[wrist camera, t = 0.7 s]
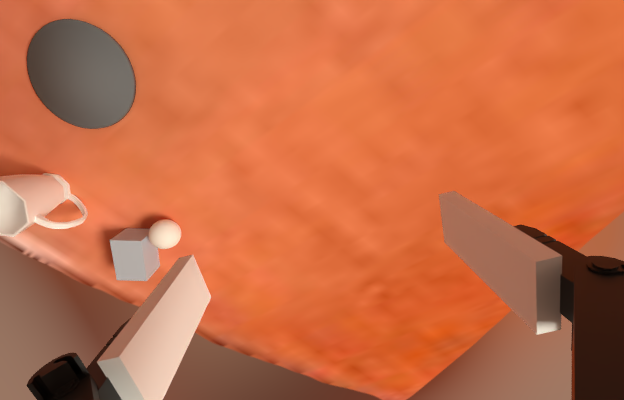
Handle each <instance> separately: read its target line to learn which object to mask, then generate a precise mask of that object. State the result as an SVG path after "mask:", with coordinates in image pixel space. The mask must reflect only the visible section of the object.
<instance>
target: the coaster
mask: <svg viewBox="0 0 624 400" xmlns="http://www.w3.org/2000/svg"><path fill="white" fill-rule="evenodd" d="M27 68H28V74H29V77H30V81H31V83H32V86H33V88H34V90H35V92H36V94H37V95H38V97H39V98H40V100H41V101H42V102H43V103H44V105H45V106H46V107H47V108H48V109H49V110H50V111H51V112H52V113H54V114H55V115H56V116H57V117H59V118H61V119H62V120H64V121H66V122H68V123H70V124H72V125H75V126H78V127H82V128H89V129H96V128H104V127H108V126H111V125H113V124H115V123H117V122H119V121H120V120H122V119H123V118H124V117H125V116H126V114H127V113H128V112H129V110H130V109H131V107H132V104H133V102H134V98H135V93H136V81H135V75H134V71H133V68H132V65H131V63H130V60H129V58H128V57H127V55H126V53H125V52H124V50H123V49H122V47H121V46H120V45H119V44H118V43H117V42H116V41H115V40H114V39H113V38H112V37H111V36H110V35H109V34H107V33H106V32H105V31H103V30H102V29H100V28H98V27H96V26H94V25H91V24H89V23H86V22H83V21H79V20H73V19H62V20H56V21H54V22H51V23H49V24H47V25H45V26H44V27H42V28H41V29H40V30H39V31H38V32H37V33H36V34H35V36H34V37H33V39H32V41H31V43H30V46H29V49H28V55H27Z"/></svg>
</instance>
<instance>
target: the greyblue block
mask: <svg viewBox="0 0 624 400" xmlns="http://www.w3.org/2000/svg"><path fill="white" fill-rule="evenodd" d="M149 230H150V229H142V228H126V229H124V230H123V231H122V232H120V233H119V234H117V235H116V236H115V237H113V238H112V239H110V245H111V251H112V256H113V262H114V267H115V272H116V278H117V280H131V281H147V280H148V279H149V278H150V277H151V276H152V275H153V273H154V272H155V271H156V270H157V269H158V268H159V267H160V262H159V254H158V248H157V247H155V246H154V245H153V244H152V243H151V242H150V240H149V235H148V234H149Z"/></svg>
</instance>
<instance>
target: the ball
mask: <svg viewBox="0 0 624 400" xmlns="http://www.w3.org/2000/svg"><path fill="white" fill-rule="evenodd" d="M148 235H149V240H150V242H151V243H152V244H153V245H154V246H155V247H157V248H160V249H168V248H171V247H173V246H175V245H176V244H177V243H178V242H179V240H180V238H181V229H180V227H179V225H178V224H177V223H176V222H174V221H172V220H168V219H163V220H159V221H157V222H155V223H154V224H153V225H152V226H151V228H150V230H149V234H148Z"/></svg>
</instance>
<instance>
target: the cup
mask: <svg viewBox="0 0 624 400" xmlns="http://www.w3.org/2000/svg"><path fill="white" fill-rule="evenodd" d="M67 199H69V200H71V201H73V202H74V203H75V204H76V205H77V206H78V208H79V209H80V211H81V213H82V215H83V217H82V218H79V219H77V220H74V221H70V222H53V221H50V220H48V219H46V218H45V216H46V215H47V214H48V213H50V212H51V211H52V210H53V209H54V208H55V207H57V206H58V205H59V204H62V203H64V202H65V201H66V200H67ZM87 215H88V213H87V209H86V207H85V206H84V204H83V203H82V202H81V200H80V199H79V198H77V197H76V196H75V195H73V194H71V193H70V185H69V183H68V182H67V181H65V180H64V179H63V178H62V177H61V176H60V175H59V174H51V173H43V174H42V175H39V174H18V175H8V176H0V235H2V236H11V237H15V236H16V235H18V234H19V233H21V232H22V231H24V230H25V229H27V228H28V227H30V226H31V225H33V224H34V223H37V224H39V225H42V226H44V227H47V228H52V229H67V228H71V227H74V226H77V225H80V224H82V223H83V222H84V221H85V220H86V218H87Z"/></svg>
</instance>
